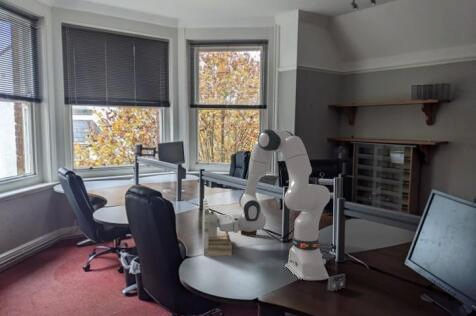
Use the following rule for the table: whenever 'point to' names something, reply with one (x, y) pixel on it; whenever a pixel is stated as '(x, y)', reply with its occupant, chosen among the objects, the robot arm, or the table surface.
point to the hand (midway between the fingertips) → (209, 222)
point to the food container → (249, 232)
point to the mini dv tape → (336, 282)
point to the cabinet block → (212, 230)
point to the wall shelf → (214, 238)
